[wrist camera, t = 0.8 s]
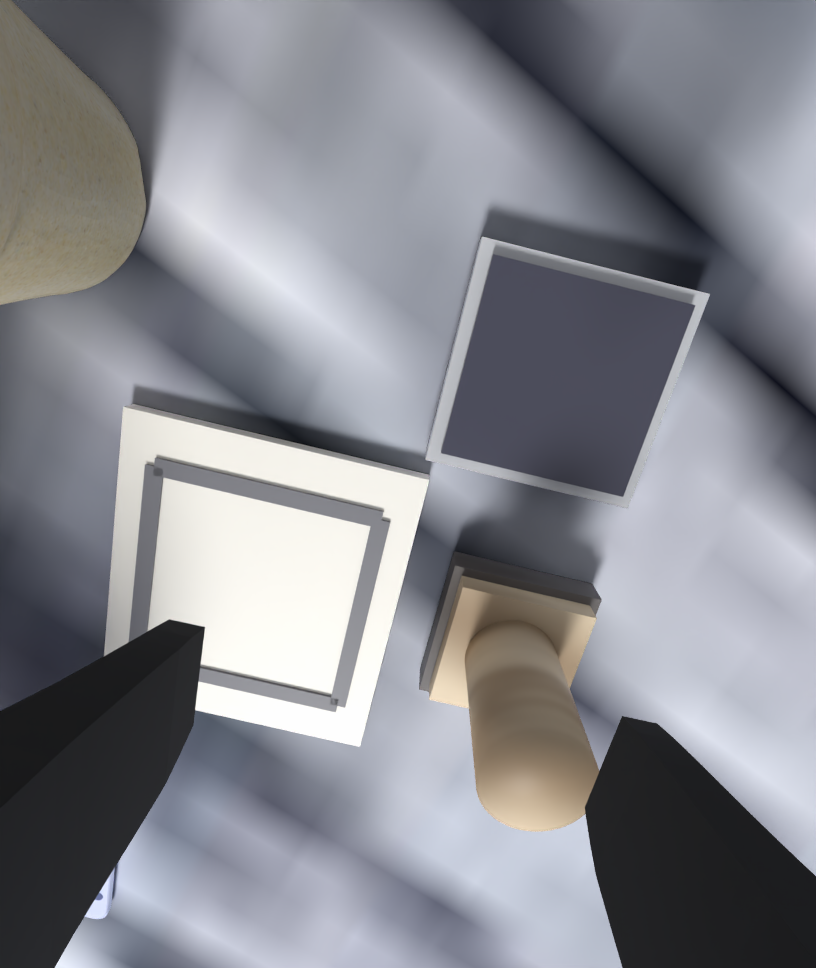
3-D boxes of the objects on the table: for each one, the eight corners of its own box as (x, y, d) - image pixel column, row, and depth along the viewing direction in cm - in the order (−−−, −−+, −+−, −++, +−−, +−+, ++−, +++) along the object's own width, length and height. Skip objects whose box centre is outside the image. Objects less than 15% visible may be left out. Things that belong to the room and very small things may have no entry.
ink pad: (618, 499, 18) (631, 511, 17) (425, 452, 18) (425, 462, 17) (695, 295, 16) (715, 293, 15) (479, 240, 16) (482, 235, 15)
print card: (361, 735, 22) (359, 748, 21) (110, 678, 21) (99, 690, 21) (429, 474, 18) (429, 481, 18) (132, 403, 18) (121, 407, 17)
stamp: (548, 697, 21) (602, 878, 14) (419, 668, 21) (414, 837, 14) (591, 582, 19) (674, 725, 13) (453, 550, 19) (465, 677, 13)
